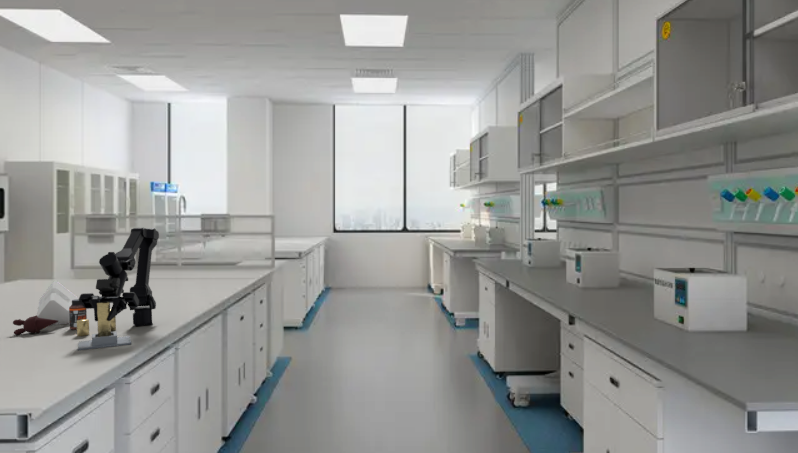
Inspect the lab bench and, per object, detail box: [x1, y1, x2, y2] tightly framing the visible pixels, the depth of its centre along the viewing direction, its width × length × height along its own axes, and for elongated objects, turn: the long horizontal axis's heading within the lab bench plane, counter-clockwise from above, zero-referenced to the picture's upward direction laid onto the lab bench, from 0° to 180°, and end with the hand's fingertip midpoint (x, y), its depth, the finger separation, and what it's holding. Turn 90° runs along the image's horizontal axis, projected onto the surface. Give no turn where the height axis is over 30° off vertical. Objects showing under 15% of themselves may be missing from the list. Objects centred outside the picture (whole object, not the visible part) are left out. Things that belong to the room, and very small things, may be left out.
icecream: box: [12, 314, 58, 336], centre depth 221 cm, size 7×7×15 cm
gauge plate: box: [77, 331, 132, 351], centre depth 200 cm, size 16×12×3 cm
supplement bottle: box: [69, 298, 88, 331], centre depth 228 cm, size 6×6×11 cm
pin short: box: [76, 318, 90, 337], centre depth 215 cm, size 4×4×6 cm
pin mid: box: [110, 308, 117, 332], centre depth 223 cm, size 4×4×8 cm
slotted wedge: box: [36, 280, 79, 325], centre depth 239 cm, size 14×11×18 cm
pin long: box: [96, 302, 112, 337], centre depth 200 cm, size 4×4×13 cm
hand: (102, 320), depth 198 cm, fingers closed on pin long, 4 cm apart
